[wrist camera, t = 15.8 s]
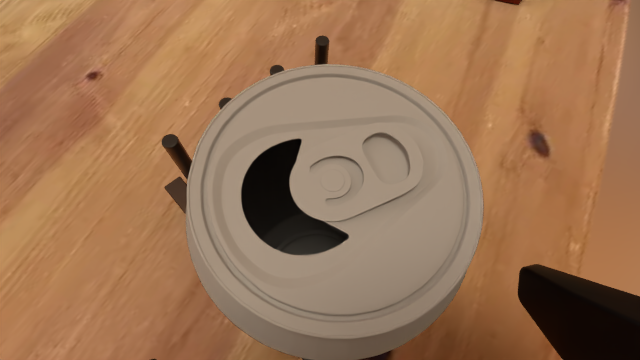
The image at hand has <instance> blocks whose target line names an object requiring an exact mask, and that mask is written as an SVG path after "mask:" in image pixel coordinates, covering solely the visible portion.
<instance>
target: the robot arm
mask: <svg viewBox="0 0 640 360" xmlns="http://www.w3.org/2000/svg"><path fill="white" fill-rule="evenodd" d="M518 297H519V300H520V302H521V303H522V305H523V306H524V308H525V309H526V310H527V312H528V313H529V315H530V316H531V317H532V319H533V320H534V321H535V323H536V324H537V326H538V327H539V328H540V330H541V331H542V332H543V334H544V335H545V337H546V338H547V339H548V341H549V342H550V343H551V345H552V346H553V347H554V349H555V350H556V351H557V353H558V354H559V355H560V357H561V358H562V359H563V360H640V297H639V296H636V295H633V294H630V293H627V292H624V291H620V290H617V289H614V288H611V287H608V286H604V285H602V284H599V283H595V282H592V281H589V280H586V279H583V278H580V277H577V276H574V275H571V274H567V273H564V272H561V271H558V270H555V269H552V268H549V267H545V266H542V265H539V264H534V265H530V266H526V267H523V268H521V270H520V273H519V285H518ZM151 360H156V359H151Z"/></svg>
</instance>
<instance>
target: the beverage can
mask: <svg viewBox="0 0 640 360" xmlns="http://www.w3.org/2000/svg"><path fill="white" fill-rule="evenodd" d="M483 209H484V204H483V191H482V184H481V179H480V175H479V171H478V168H477V165H476V162H475V159H474V157H473V154H472V152H471V150H470V148H469V146H468V144H467V142H466V141H465V139H464V137H463V136H462V134H461V132H460V131H459V129H458V128H457V127H456V125H455V124H454V123H453V122H452V121H451V119H450V118H449V117H448V116H447V115H446V114H445V112H443V111H442V110H441V109H440V108H439V107H438V106H437V105H436V104H435V103H434V102H433V101H431V100H430V99H429V98H428V97H426V96H425V95H423V94H422V93H421V92H419V91H418V90H416V89H414V88H413V87H411V86H409V85H408V84H406V83H404V82H402V81H400V80H398V79H395V78H393V77H391V76H388V75H386V74H383V73H380V72H377V71H373V70H370V69H366V68H361V67H356V66H349V65H337V64H322V65H310V66H303V67H298V68H293V69H289V70H285V71H282V72H279V73H276V74H273V75H271V76H268V77H266V78H264V79H262V80H260V81H258V82H256V83H254V84H253V85H251V86H249V87H248V88H246V89H244V90H243V91H242V92H240V93H239V94H238V95H236V96H235V97H234V98H233V99H231V100H230V101H229V102H228V103H227V104H226V105H225V106H224V107H223V108H222V109H221V110H220V111H219V112H218V114H217V115H216V116H215V117H214V118H213V119H212V121H211V122H210V124H209V125H208V127H207V128H206V130H205V132H204V133H203V135H202V137H201V138H200V140H199V142H198V145H197V147H196V150H195V153H194V157H193V160H192V164H191V168H190V171H189V176H188V180H187V206H186V234H187V241H188V246H189V251H190V255H191V259H192V262H193V264H194V267H195V270H196V272H197V274H198V277H199V279H200V281H201V283H202V285H203V287H204V288H205V290H206V292H207V293H208V295H209V296H210V298H211V299H212V301H213V302H214V303H215V305H216V306H217V307H218V308H219V309H220V311H221V312H222V313H223V314H224V315H225V316H226V317H227V318H228V319H229V320H230V321H231V322H232V323H234V324H235V325H236V326H237V327H238V328H240V329H241V330H242V331H244V332H245V333H247V334H248V335H249V336H251V337H252V338H254V339H256V340H257V341H259V342H260V343H262V344H264V345H266V346H268V347H271V348H273V349H275V350H278V351H280V352H283V353H286V354H289V355H292V356H296V357H300V358H305V359H311V360H358V359H363V358H368V357H373V356H377V355H380V354H383V353H385V352H387V351H390V350H392V349H395V348H397V347H400V346H402V345H403V344H405V343H407V342H408V341H410V340H411V339H413V338H415V337H416V336H417V335H419V334H420V333H421V332H423V331H424V330H425V329H427V328H428V327H429V326H430V325H431V324H432V323H433V322H434V321H435V320H436V319H437V318H438V317H439V316H440V315H441V314H442V313H443V312H444V311H445V309H446V308H447V307H448V305H449V304H450V302H451V301H452V300H453V298H454V296H455V295H456V293H457V291H458V290H459V288H460V286H461V283H462V281H463V279H464V277H465V274H466V271H467V269H468V267H469V265H470V263H471V260H472V258H473V256H474V254H475V251H476V248H477V245H478V242H479V238H480V234H481V230H482V223H483Z"/></svg>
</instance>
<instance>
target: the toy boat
mask: <svg viewBox="0 0 640 360" xmlns="http://www.w3.org/2000/svg"><path fill="white" fill-rule="evenodd" d="M498 1H503V2H508V3H513V4H519V3H520V2H521V1H522V0H498Z"/></svg>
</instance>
